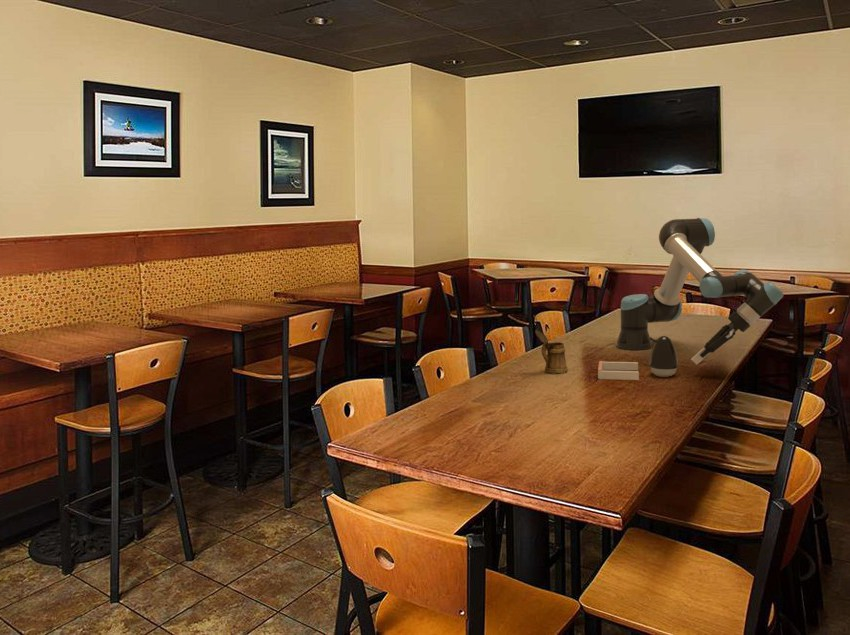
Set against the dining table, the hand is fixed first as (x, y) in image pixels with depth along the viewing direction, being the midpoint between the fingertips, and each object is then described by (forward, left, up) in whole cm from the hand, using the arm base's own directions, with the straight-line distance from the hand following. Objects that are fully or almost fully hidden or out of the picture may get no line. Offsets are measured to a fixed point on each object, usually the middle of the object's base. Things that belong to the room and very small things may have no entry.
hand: (693, 361), depth 268 cm
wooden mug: (-1, -53, -6) cm, 53 cm away
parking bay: (0, -27, -6) cm, 27 cm away
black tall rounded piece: (0, -11, -6) cm, 12 cm away
